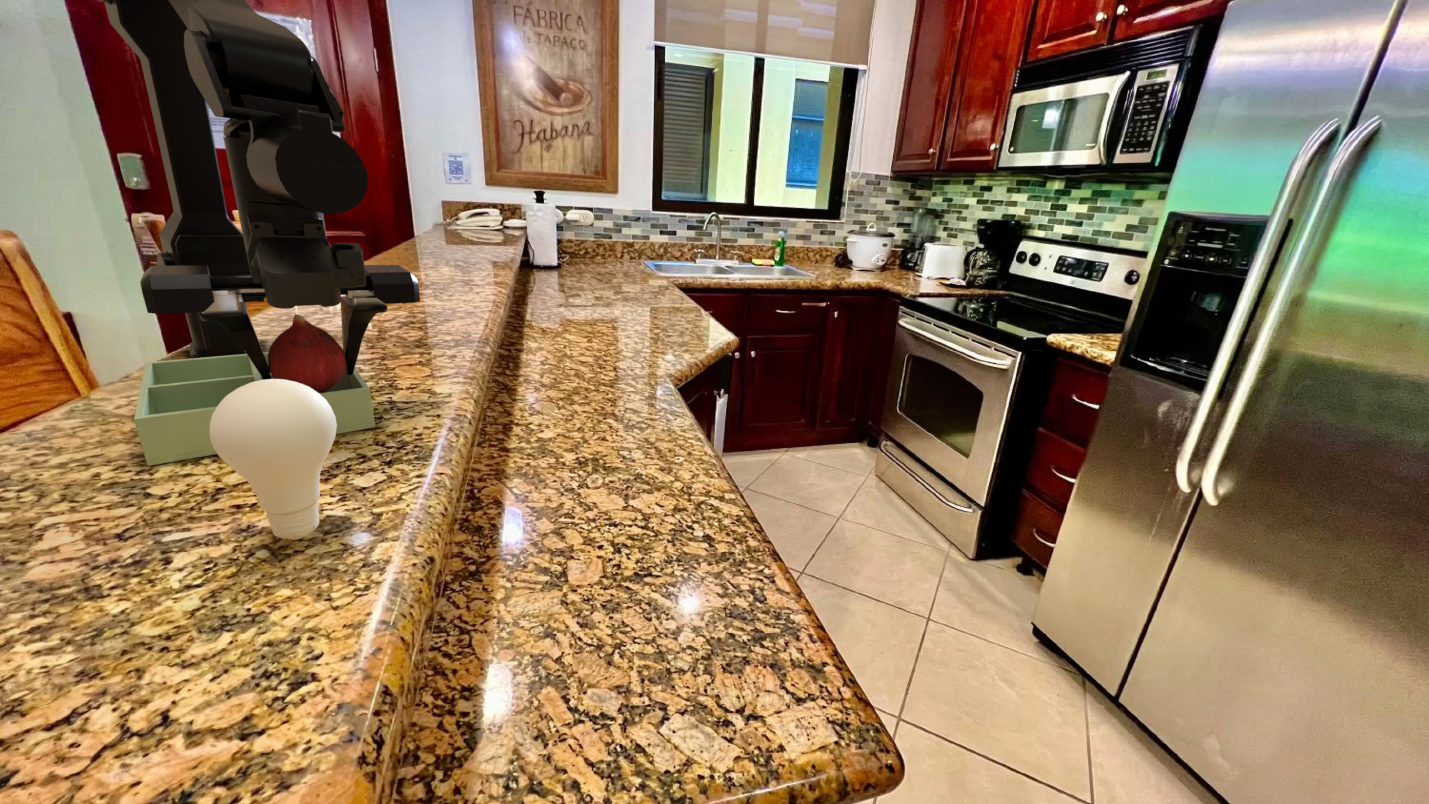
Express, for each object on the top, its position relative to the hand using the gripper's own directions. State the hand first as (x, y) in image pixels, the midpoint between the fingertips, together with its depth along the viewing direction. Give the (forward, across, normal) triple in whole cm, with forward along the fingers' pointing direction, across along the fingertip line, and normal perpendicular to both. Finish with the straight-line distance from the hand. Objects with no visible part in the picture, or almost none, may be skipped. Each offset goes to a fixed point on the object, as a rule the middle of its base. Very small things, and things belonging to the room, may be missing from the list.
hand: (310, 378), depth 51 cm
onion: (+2, 0, 0) cm, 2 cm away
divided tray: (+4, -4, +4) cm, 7 cm away
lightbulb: (+4, -4, -20) cm, 21 cm away
